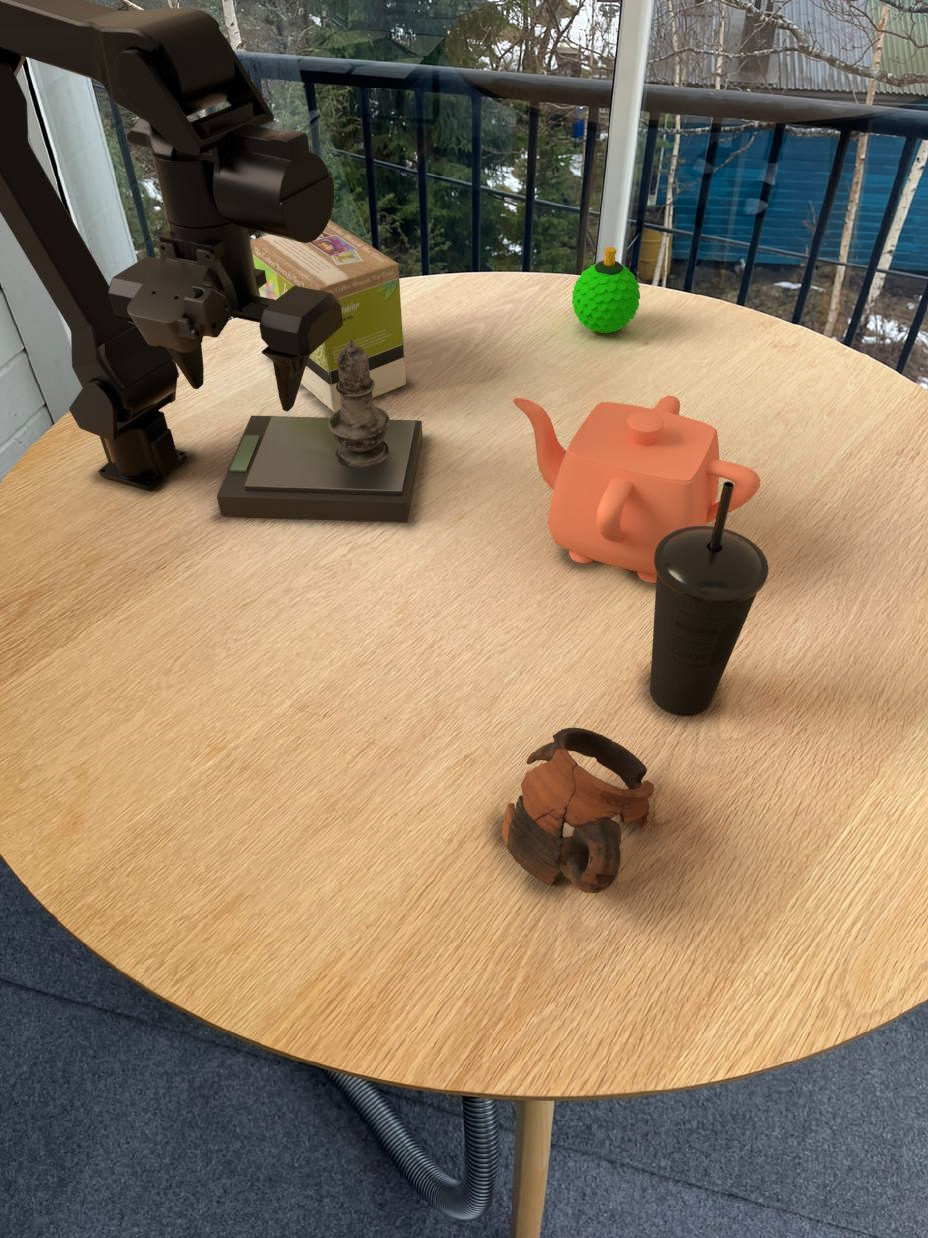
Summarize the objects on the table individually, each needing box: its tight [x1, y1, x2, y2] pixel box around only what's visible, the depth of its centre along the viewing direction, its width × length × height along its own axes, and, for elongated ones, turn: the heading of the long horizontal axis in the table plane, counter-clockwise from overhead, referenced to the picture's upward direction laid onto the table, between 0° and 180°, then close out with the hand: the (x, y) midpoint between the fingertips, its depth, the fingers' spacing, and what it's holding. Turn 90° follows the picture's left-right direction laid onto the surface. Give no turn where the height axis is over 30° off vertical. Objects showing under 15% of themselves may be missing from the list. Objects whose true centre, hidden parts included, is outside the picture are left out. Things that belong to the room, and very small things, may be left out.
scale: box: [216, 415, 424, 524], centre depth 94 cm, size 18×14×3 cm
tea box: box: [250, 219, 407, 414], centre depth 104 cm, size 15×10×15 cm, turn 36°
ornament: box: [571, 246, 641, 334], centre depth 112 cm, size 8×8×10 cm
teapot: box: [512, 395, 761, 584], centre depth 82 cm, size 17×16×13 cm
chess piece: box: [328, 340, 391, 468], centre depth 88 cm, size 6×6×12 cm
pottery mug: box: [501, 727, 655, 894], centre depth 62 cm, size 12×10×8 cm
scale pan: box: [244, 415, 416, 496], centre depth 93 cm, size 15×12×1 cm
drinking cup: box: [649, 481, 770, 717], centre depth 66 cm, size 8×8×20 cm
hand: (242, 397), depth 81 cm, fingers open, 9 cm apart
